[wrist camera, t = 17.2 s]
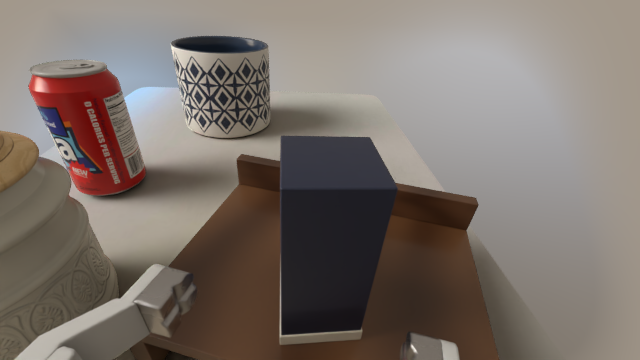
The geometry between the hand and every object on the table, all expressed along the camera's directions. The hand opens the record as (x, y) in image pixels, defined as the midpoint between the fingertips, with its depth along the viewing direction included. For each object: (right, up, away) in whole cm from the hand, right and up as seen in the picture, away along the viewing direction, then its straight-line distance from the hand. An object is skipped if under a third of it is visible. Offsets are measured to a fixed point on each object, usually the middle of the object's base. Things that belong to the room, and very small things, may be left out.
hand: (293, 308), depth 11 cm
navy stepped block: (0, -2, +13) cm, 13 cm away
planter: (-17, +16, +47) cm, 53 cm away
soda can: (-27, +4, +29) cm, 39 cm away
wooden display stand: (+1, -6, +16) cm, 17 cm away
